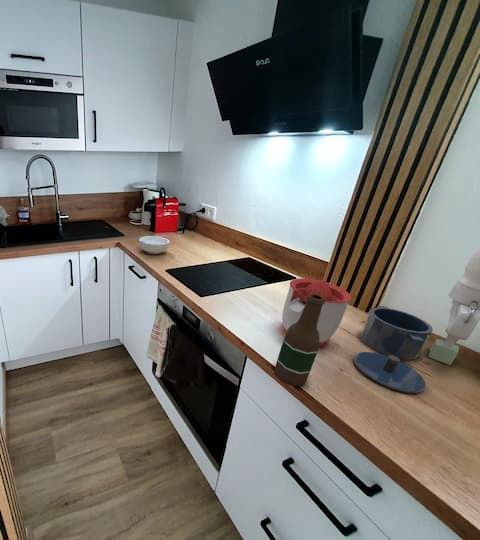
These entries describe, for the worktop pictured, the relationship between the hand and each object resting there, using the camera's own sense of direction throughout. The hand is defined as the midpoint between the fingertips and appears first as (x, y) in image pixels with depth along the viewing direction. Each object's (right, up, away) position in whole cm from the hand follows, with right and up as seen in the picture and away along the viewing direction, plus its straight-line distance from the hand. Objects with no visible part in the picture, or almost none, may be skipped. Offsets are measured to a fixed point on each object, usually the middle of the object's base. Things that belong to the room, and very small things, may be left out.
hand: (448, 338), depth 81 cm
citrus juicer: (-36, -2, +10) cm, 37 cm away
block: (0, -6, +2) cm, 7 cm away
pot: (-11, -4, +7) cm, 13 cm away
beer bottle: (-49, -9, -6) cm, 51 cm away
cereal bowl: (-75, +30, +81) cm, 114 cm away
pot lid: (-22, -8, -4) cm, 23 cm away
